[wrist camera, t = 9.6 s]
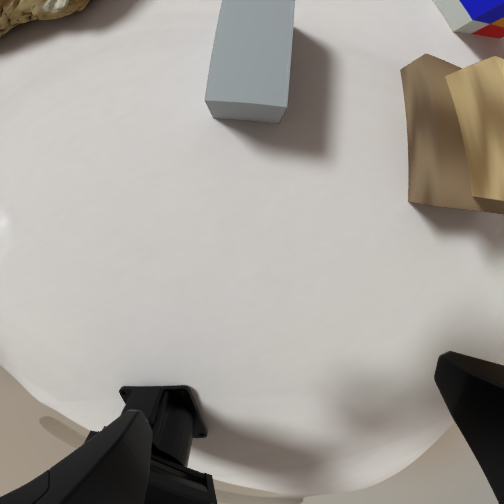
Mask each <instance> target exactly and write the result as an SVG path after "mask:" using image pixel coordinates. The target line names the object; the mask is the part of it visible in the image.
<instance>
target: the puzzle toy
mask: <svg viewBox="0 0 504 504" xmlns="http://www.w3.org/2000/svg"><path fill="white" fill-rule="evenodd" d="M432 1H433V2H434V3H435V5H436V6H437V8H438V9H439V11H440V12H441V14H442V15H443V17H444V18H445V20H446V21H447V23H448V25H449V26H450V28H451V30H452V31H453V32H460V33H469V34H477V35H483V36H489V37H495V38H502V37H504V0H432Z"/></svg>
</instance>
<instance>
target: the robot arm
mask: <svg viewBox="0 0 504 504" xmlns="http://www.w3.org/2000/svg"><path fill="white" fill-rule="evenodd" d="M434 378H435V382H436V385H437V387H438V389H439V391H440V393H441V395H442V397H443V399H444V401H445V403H446V405H447V407H448V409H449V411H450V413H451V415H452V417H453V419H454V421H455V422H456V424H457V426H458V427H459V429H460V431H461V432H462V434H463V436H464V437H465V439H466V441H467V443H468V444H469V446H470V448H471V450H472V452H473V453H474V455H475V457H476V459H477V460H478V462H479V464H480V466H481V468H482V470H483V472H484V474H485V476H486V477H487V480H488V482H489V484H490V486H491V488H492V489H493V492H494V494H495V496H496V498H497V500H498V501H499V502H498V503H499V504H504V366H503V365H500V364H496V363H492V362H488V361H485V360H481V359H477V358H474V357H470V356H466V355H463V354H459V353H456V352H452V351H449V352H446V353H444V354H442V355H440V356H439V358H438V362H437V366H436V371H435V375H434ZM182 391H185V392H182ZM119 393H120V395H121V397H122V399H123V400H124V402H125V404H126V405H125V407H124V409H123V411H122V413H121V415H120V417H118V418H117V419H116V420H114V421H113V422H112V423H111V424H109V425H108V426H107V427H106V426H104V428H103V430H102V431H100V432H99V431H98V432H95V431H90V433H89V435H88V437H87V439H86V441H85V442H84V444H83V445H82V446H80V447H79V448H78V449H76V450H75V451H74V452H72V453H71V454H70V455H68V456H67V457H65V458H64V459H63V460H61V461H60V462H58V463H57V464H56V465H54V466H53V467H52V468H50V470H47V471H46V472H44V473H43V474H41V475H40V476H38V477H37V478H35V479H34V480H32V481H31V482H29V483H27V484H25V485H23V486H22V487H20V488H18V489H16V490H14V491H12V492H10V493H8V494H6V495H4V496H1V497H0V504H217V500H216V495H215V490H214V484H213V478H212V475H210V474H207V473H201V472H198V471H195V470H193V469H190V468H187V466H188V460H189V454H190V449H191V444H192V438H204V437H207V434H208V431H207V429H206V427H205V425H204V422H203V420H202V418H201V415H200V413H199V411H198V408H197V406H196V403H195V401H194V399H193V396H192V394H191V391H190V389H189V388H188V387H187V386H183V385H181V386H147V387H134V386H123V387H121V388H120V390H119Z"/></svg>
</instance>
